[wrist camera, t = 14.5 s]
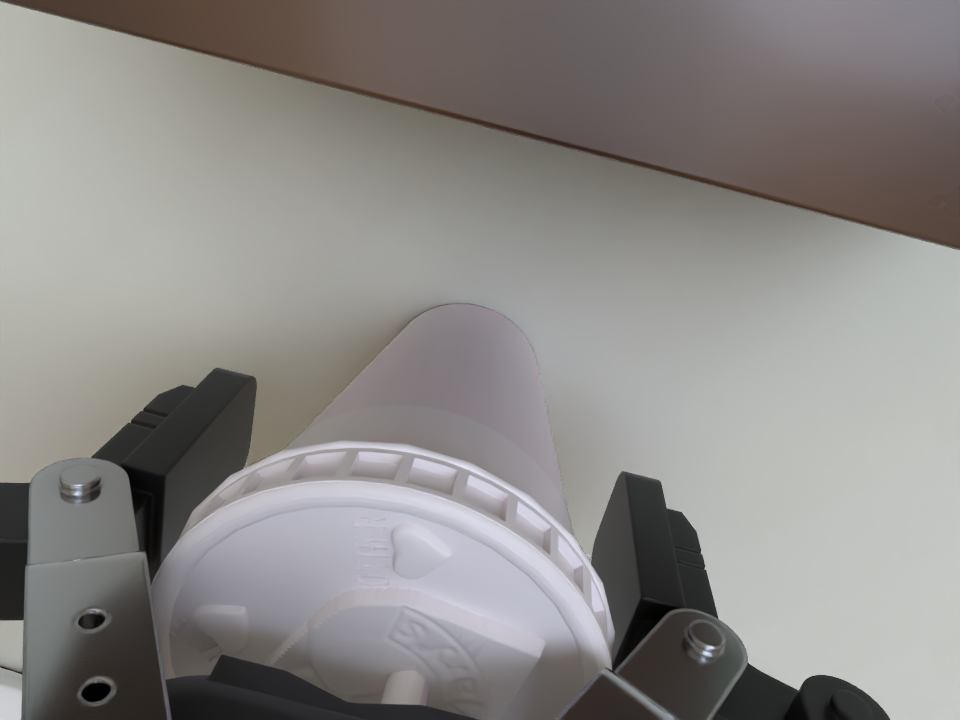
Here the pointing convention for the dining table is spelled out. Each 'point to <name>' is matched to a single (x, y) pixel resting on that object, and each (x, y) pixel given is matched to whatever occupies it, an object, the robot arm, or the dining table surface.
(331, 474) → the smoothie
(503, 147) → the dining table surface
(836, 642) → the dining table surface
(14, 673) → the rose
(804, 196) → the cabinet
